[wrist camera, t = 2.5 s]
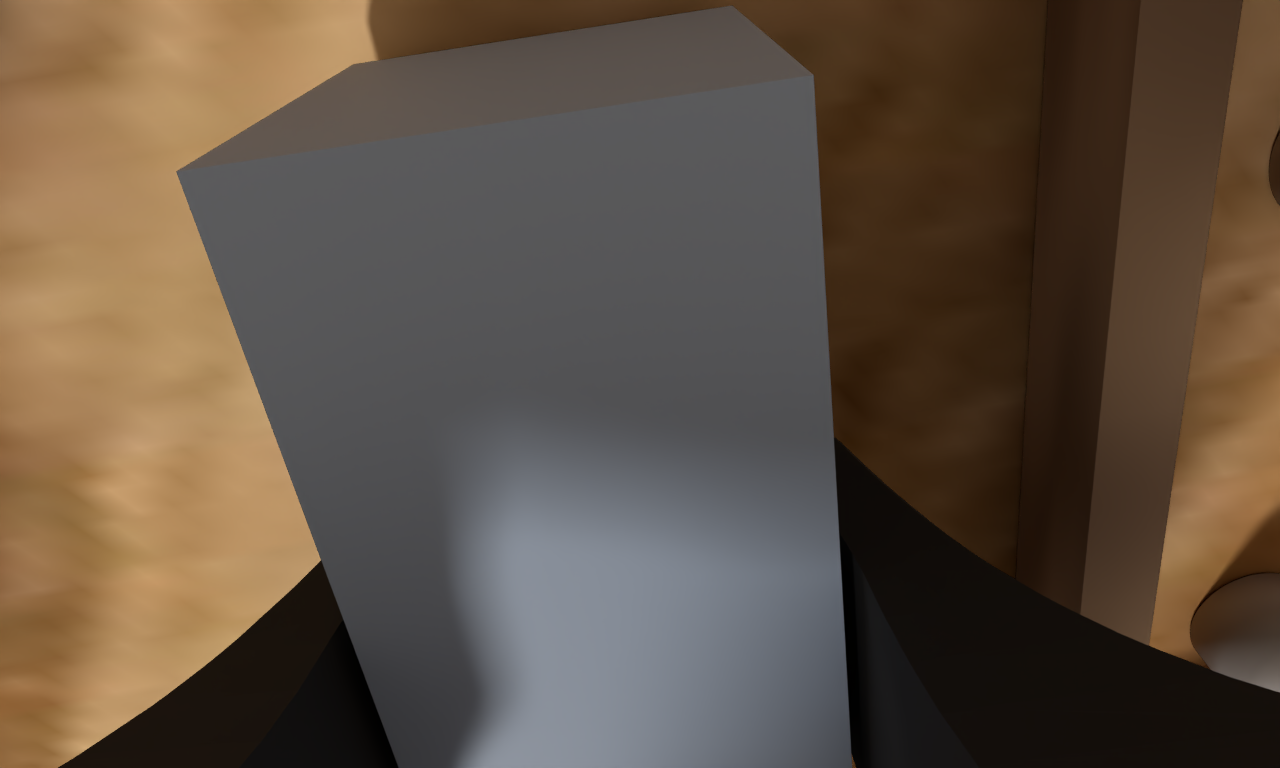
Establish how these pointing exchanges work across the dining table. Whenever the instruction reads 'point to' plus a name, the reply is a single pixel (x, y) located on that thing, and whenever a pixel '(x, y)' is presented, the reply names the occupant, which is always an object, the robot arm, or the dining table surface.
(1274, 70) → the dining table surface
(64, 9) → the dining table surface
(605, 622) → the blue-grey rectangular block
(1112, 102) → the peg frame
